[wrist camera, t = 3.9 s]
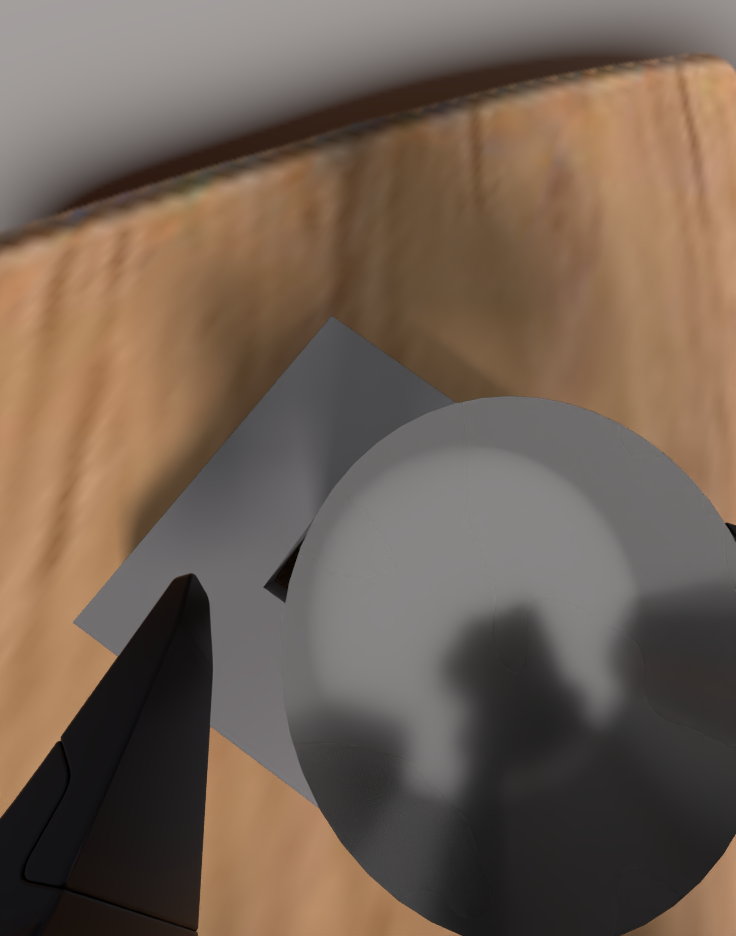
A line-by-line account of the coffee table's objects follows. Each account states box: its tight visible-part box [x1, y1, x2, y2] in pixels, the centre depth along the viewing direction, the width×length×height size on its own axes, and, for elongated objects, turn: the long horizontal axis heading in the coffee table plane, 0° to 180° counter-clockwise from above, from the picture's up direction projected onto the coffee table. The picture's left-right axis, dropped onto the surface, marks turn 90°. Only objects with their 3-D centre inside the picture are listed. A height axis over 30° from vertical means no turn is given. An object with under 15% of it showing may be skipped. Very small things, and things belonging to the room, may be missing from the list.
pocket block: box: [73, 316, 456, 808], centre depth 15 cm, size 14×14×3 cm
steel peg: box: [280, 396, 736, 936], centre depth 10 cm, size 4×4×14 cm
